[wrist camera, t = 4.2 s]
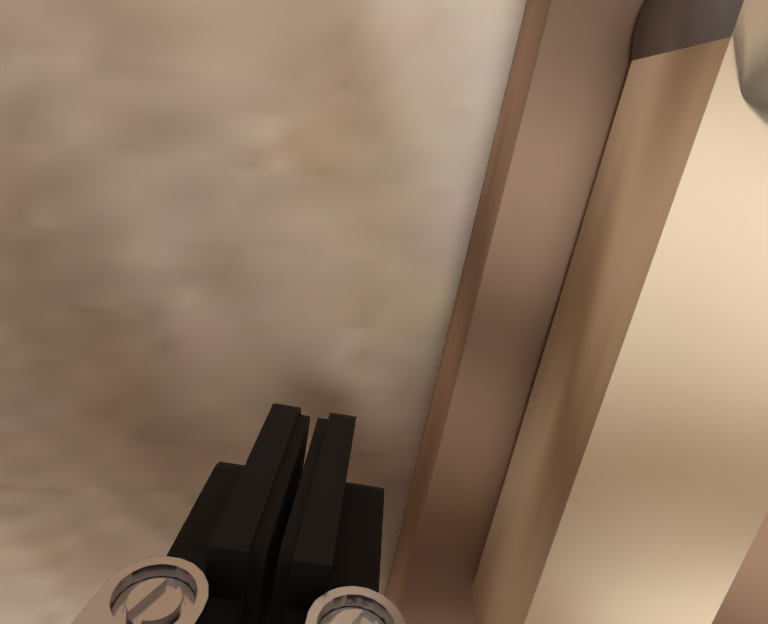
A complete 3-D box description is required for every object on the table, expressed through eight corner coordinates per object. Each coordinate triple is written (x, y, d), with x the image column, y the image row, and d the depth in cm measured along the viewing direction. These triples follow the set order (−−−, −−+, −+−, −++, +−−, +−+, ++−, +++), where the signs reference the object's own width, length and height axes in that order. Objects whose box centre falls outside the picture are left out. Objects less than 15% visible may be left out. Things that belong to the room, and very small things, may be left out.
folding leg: (671, -92, 9) (802, -195, 6) (871, -50, 9) (1098, -131, 6) (467, 589, 13) (484, 720, 10) (600, 611, 13) (654, 747, 10)
